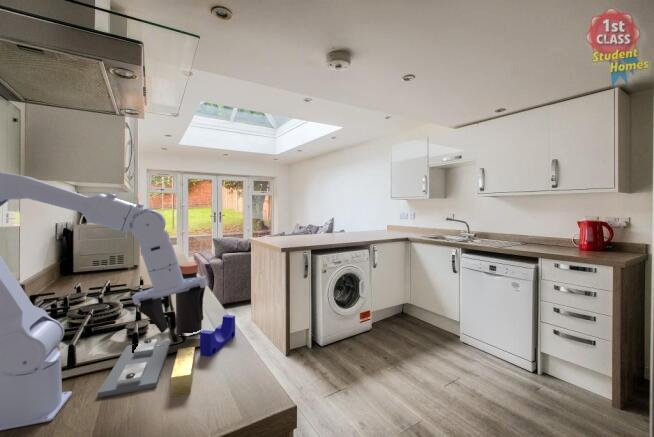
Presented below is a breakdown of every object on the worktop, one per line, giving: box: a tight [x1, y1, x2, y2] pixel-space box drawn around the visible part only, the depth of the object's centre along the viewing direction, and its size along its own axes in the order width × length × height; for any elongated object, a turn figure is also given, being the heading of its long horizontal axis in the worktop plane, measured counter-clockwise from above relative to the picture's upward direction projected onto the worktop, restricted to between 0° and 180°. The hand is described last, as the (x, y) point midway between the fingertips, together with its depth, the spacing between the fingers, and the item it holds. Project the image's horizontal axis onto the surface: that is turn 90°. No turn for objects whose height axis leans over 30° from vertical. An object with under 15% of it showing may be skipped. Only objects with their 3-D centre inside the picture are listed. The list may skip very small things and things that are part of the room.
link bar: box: [170, 346, 196, 397], centre depth 64 cm, size 4×12×4 cm, turn 20°
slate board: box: [97, 339, 172, 398], centre depth 68 cm, size 10×20×1 cm, turn 20°
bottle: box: [175, 262, 203, 336], centre depth 86 cm, size 7×7×20 cm
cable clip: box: [199, 314, 236, 357], centre depth 79 cm, size 12×4×6 cm, turn 169°
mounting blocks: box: [117, 338, 158, 386], centre depth 68 cm, size 4×18×1 cm, turn 20°
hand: (182, 325), depth 63 cm, fingers open, 7 cm apart
